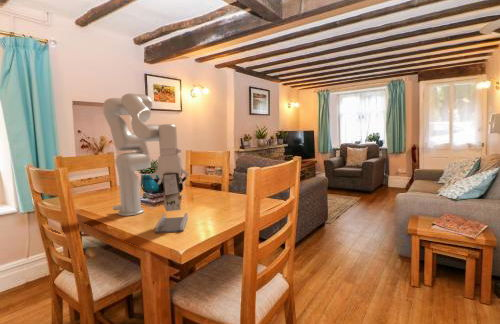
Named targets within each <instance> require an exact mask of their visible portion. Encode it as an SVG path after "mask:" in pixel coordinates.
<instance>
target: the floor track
mask: <svg viewBox="0 0 500 324" xmlns="http://www.w3.org/2000/svg"><path fill="white" fill-rule="evenodd" d="M188 218H189V217H188V213H187V212H186V213H185V212H184V214H183V216H180V217H177V216H176V217H167V216H166V214H163V215H162V216H161V217H160V219H159V220H158V222H157V223H156V225H155V226H154V231H155V233H154V234H163V233H164V234H165V233H167V234H168V233H179V232H184V231H185V228H186V225H187V223H188Z"/></svg>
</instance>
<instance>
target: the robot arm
mask: <svg viewBox="0 0 500 324" xmlns="http://www.w3.org/2000/svg"><path fill="white" fill-rule="evenodd" d="M152 108H153V101H152V99H151V98H150V97H149V95H147V94H140V93H125V94H123V95H122V96H121V97H120V98H119V97H118V98H117V97H111V98H107V99H106V100H104V102H103V107H102V109H103V110H102V111H103V115H104V117H105V120H106V122H107V124H108V127H109V128H110V133H111V137H112V140H113V145H114V148H115V149H116V150H117V151H118V152H123V153H120V154H118V155H117V156H116V158H115V166H116V169H117V174H118V175H117V176H118V183H119V197H120V204H119V205H113V206H112V209H113V210H114V211H118V212H117V214H118V215H119V216H123V217H129V216H135V215H140V214H142V213H144V212H145V208H143V207H142V205H141V203H142V202H141V189H140V178H139V176H138V175H137V174H136V172H135V171H141V170H146V169H149V168H150V167H151V165H152V160H151V159H152V157H151V154H150V151H149V147H148V143H149V142H158V143H159V156H158V159H157V170H156V171H154V172H153V173H152V174H151V175H150V178H152V180H153V181H154V182H155V183H157V185H158V192H160V193H159V194H161V195H162V194H163V174H170V173H178V174H179V188H180V193H182V192H183V190H184V185H183V184H184V182H185V181H186V180H187V178H188V177H189V175H190V173H189V172H188V171H186V170H185V169H184V168H183V166H182V164H183V163H182V159H181V156H180V153H182V149H179V148H178V135H177V126H176V125H175V124H171V123H165V124H155V123H154V124H152V123H151V124H147V123H146V124H145V122H147V121H149V119H150V118H151V114H152V113H151V109H152ZM121 116H130V117H131V122H130V123H131V129H132V130H131V131H132V132H130V130H129V124H128V123H127V122H126V120H125V119H123V118H122V117H121ZM132 151H134V152H132ZM183 174H184V176H183ZM156 175H157V176H156ZM182 176H183V178H182ZM157 177H158V178H157Z"/></svg>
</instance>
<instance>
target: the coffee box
mask: <svg viewBox="0 0 500 324" xmlns="http://www.w3.org/2000/svg"><path fill="white" fill-rule="evenodd" d="M162 184H163V193H162V194H163V207H164V209H165V211H166V212H172V211H179V210H181V192H180V188H179V174H178V173H170V174H163V181H162Z"/></svg>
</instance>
